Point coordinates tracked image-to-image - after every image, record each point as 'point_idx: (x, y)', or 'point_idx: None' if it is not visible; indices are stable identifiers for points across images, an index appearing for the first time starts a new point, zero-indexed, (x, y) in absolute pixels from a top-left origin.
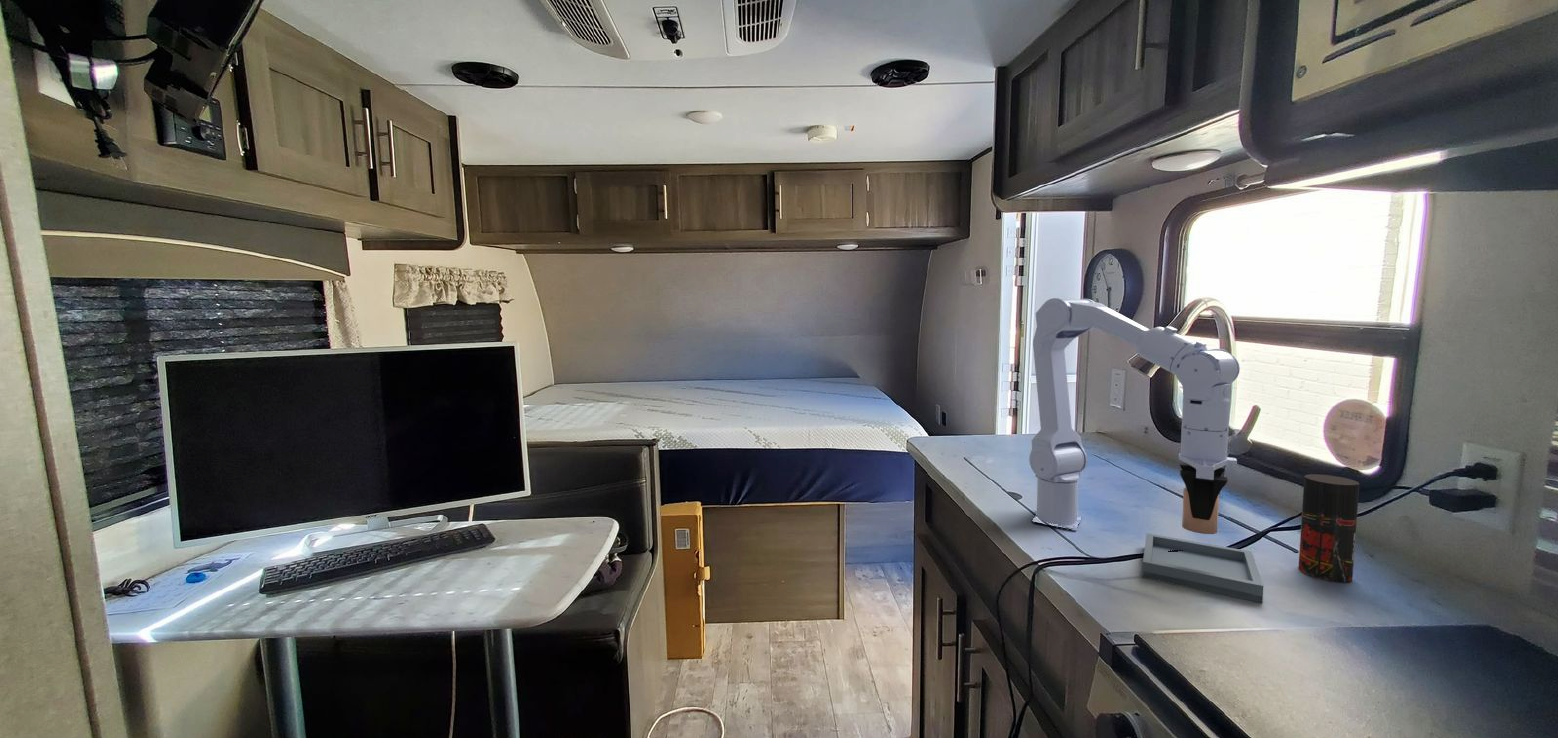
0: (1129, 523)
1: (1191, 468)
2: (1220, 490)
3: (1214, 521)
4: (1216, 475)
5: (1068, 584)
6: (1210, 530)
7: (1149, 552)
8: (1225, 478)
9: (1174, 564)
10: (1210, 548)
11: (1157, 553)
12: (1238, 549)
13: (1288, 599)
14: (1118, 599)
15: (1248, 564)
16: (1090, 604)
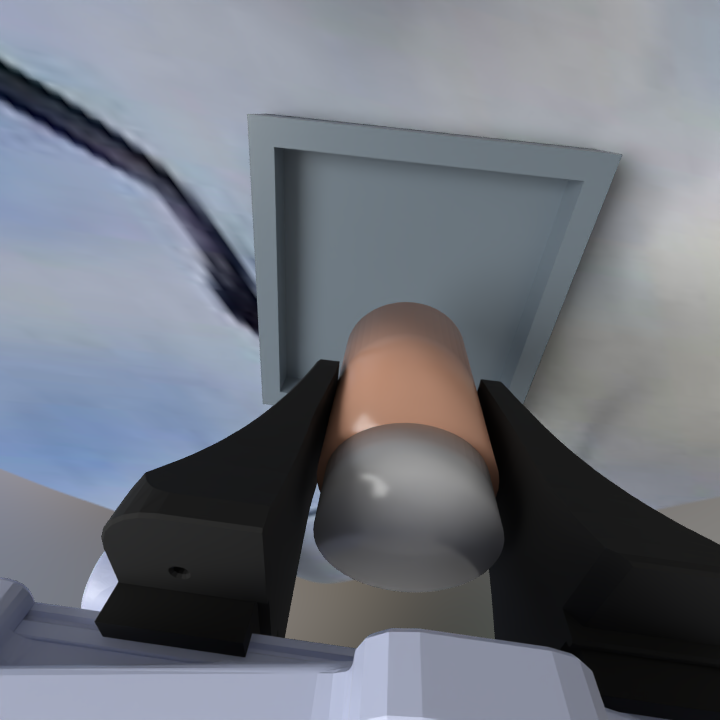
0: (103, 393)
1: (280, 628)
2: (646, 506)
3: (458, 348)
4: (288, 498)
5: None
6: (463, 341)
7: None
8: (680, 580)
9: None
10: (279, 251)
11: None
12: (253, 162)
13: (534, 46)
14: (645, 456)
15: (410, 159)
16: (680, 496)
